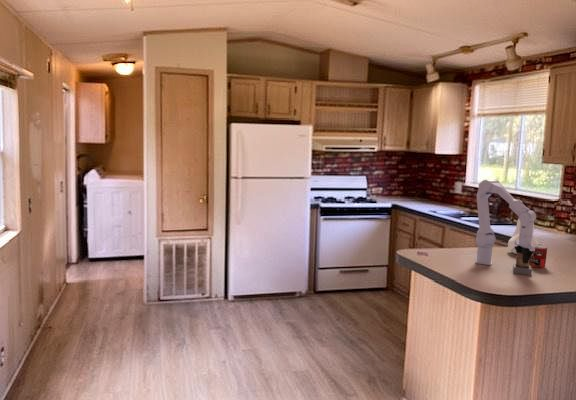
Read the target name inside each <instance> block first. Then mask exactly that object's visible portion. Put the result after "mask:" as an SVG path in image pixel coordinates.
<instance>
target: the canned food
mask: <svg viewBox="0 0 576 400" xmlns="http://www.w3.org/2000/svg"><path fill="white" fill-rule="evenodd" d="M532 246H534V247H535V251H534V253H533V254H532V255H531V257H530V259H529V262H528V265H529V266H531V268H535V269H545V267H546V261H547V256H548V255H547V253H548V247H547V245H541V244H538V245H535V244H534V245H532Z"/></svg>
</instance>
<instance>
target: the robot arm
mask: <svg viewBox="0 0 576 400" xmlns="http://www.w3.org/2000/svg"><path fill="white" fill-rule="evenodd" d="M492 194H496V195H499V196H500V197H501V198H502V199H503V200H505V202H507V203H508V205H509V206H508V207H509V208H510V209H511V211H512V212H513V213H514V214H515V215H516V216H517V217H518V219H519V220H520V233H519V241H515V245H518V246H515V250H516V253H523V263H528V264H529V262H528V261H529V259H530V257H531V255H532V254H533V253H534V251H535V247H534V246H532V245H531V241H532V232H533V223H534V224H535V221H536V220H537V213H536V212H535V210H531V209H530V208H529V207H527V206H526V205H525V204H524V203H523V201H522V200H520V199H515V197H513V196H512V194H511V193H509V191H508V190H507V189H506V188H505V187H504V185H503V183H501V182H500V181H499V180H498V179H483V180H481V181H480V183H479V184H478V190H477V193H476V205H477V206H476V207H477V214H478V215H477V217H478V227H479V228H478V230H477V231H476V237H475V243H476V244H477V245H476V246H477V251H476V258H475V262H474V263H475V264H480V265H487V266H492V265H493V263H492V254H493V247H494V244H495V243H496V240H497V238H496V236H495V231H494V230H493V229H492V228H491V220H490V219H491V218H490V206H489V197H490V196H492ZM533 233H534V232H533Z"/></svg>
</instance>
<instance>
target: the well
mask: <svg viewBox="0 0 576 400" xmlns="http://www.w3.org/2000/svg"><path fill="white" fill-rule="evenodd" d="M532 271H533V270H532V267H531V266H529V264H528V266H518V265H516V263H512V274H514V275H524V276H529V277H531V276H532Z"/></svg>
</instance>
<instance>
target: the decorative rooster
mask: <svg viewBox="0 0 576 400" xmlns="http://www.w3.org/2000/svg"><path fill="white" fill-rule="evenodd" d="M534 229H535V222H534V223H533V232H532V241H531V245H534V244H535V245H539V243H538V241H537V239H536V238H535V237H534V231H535V230H534ZM519 233H520V220H519V218H518V219H517V222H516V227H515V230H514V232H513V233H512V237H510V239H509V240H508V242H507V247H508V250H509V251H511V253H513V254H515V255H517V253H516V250H515V246H518V245H515V241H519Z"/></svg>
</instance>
